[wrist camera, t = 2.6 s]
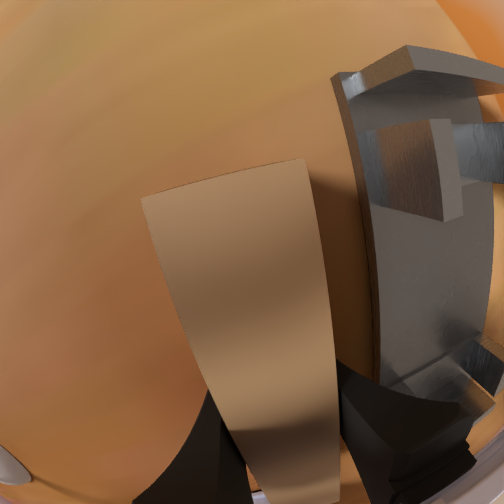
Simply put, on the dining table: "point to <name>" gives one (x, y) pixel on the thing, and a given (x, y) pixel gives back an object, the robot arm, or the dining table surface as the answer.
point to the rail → (258, 319)
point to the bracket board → (428, 219)
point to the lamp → (12, 470)
